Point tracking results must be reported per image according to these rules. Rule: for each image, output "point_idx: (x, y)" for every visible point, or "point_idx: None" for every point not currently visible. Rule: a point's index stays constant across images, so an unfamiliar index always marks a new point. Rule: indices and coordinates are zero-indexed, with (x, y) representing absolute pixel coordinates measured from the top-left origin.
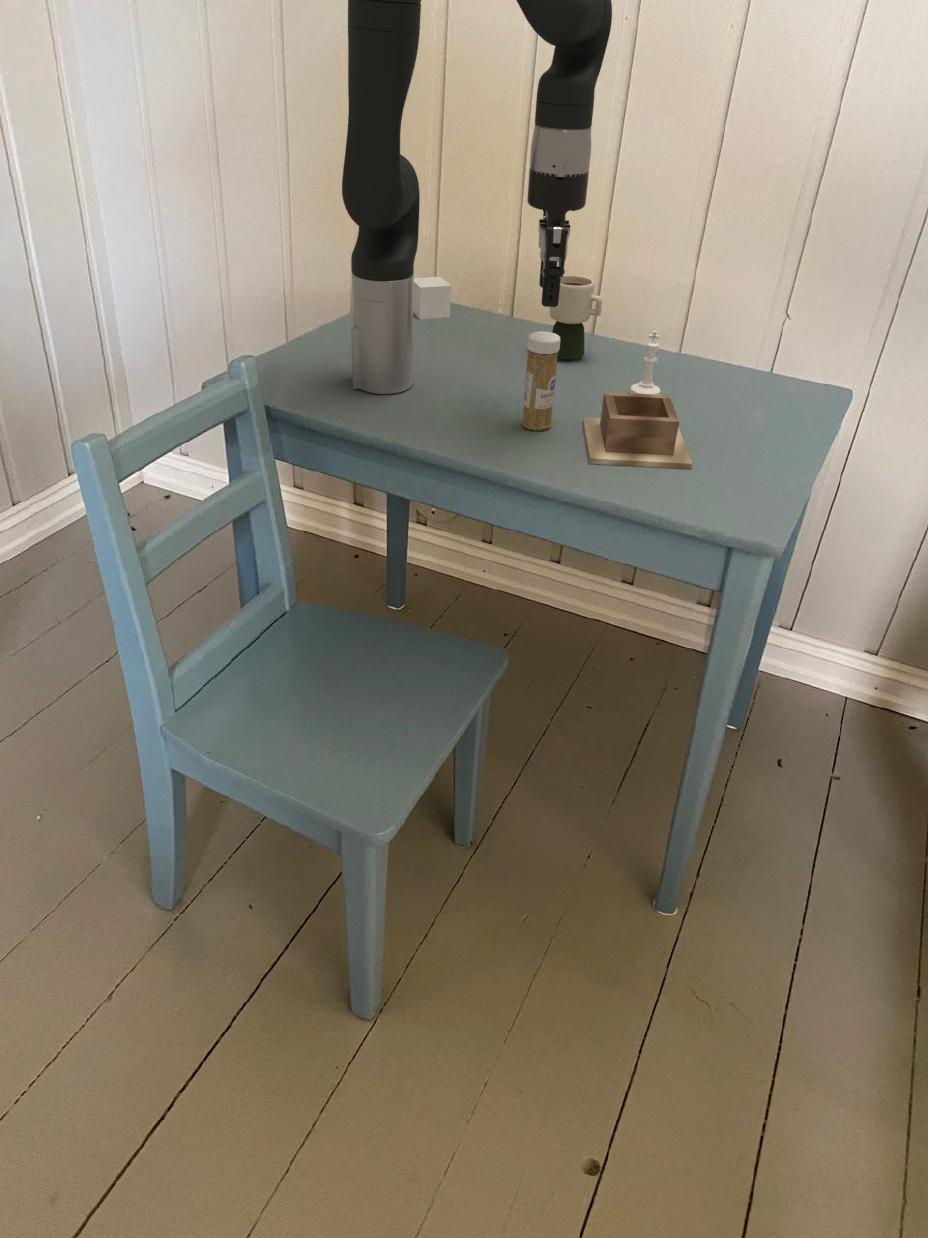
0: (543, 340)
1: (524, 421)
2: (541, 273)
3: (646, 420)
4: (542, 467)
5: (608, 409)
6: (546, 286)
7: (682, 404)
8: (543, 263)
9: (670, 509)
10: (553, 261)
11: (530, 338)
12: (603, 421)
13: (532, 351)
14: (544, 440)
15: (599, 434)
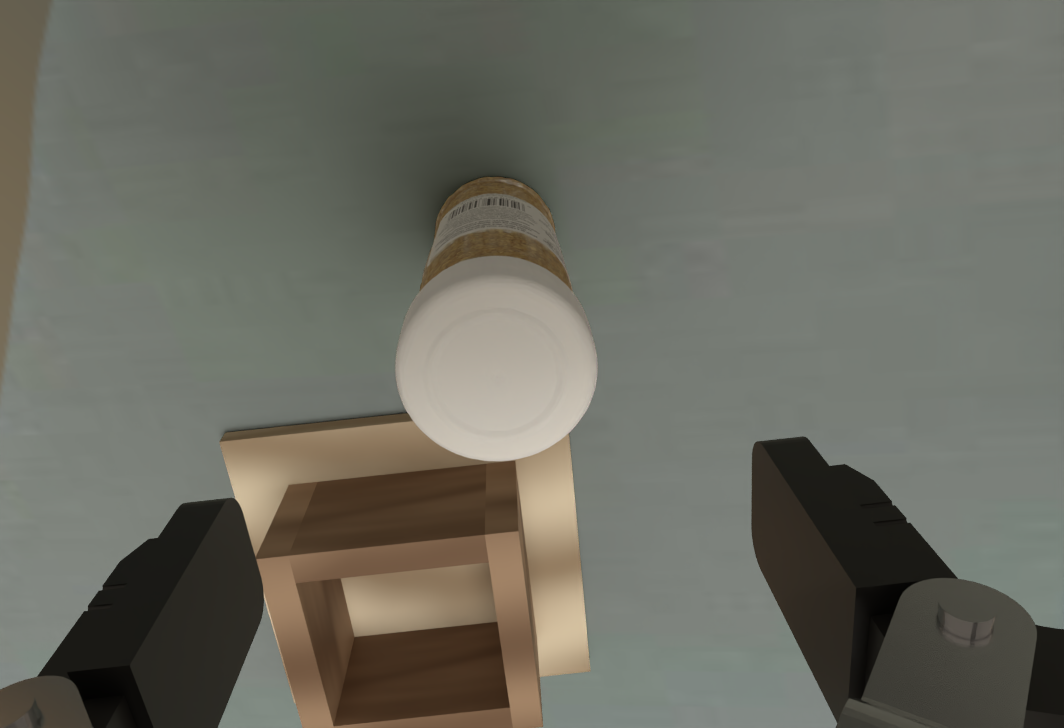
0: (405, 378)
1: (461, 193)
2: (796, 507)
3: (285, 664)
4: (134, 284)
5: (338, 551)
6: (59, 647)
7: (773, 676)
8: (836, 584)
9: (18, 641)
10: (841, 695)
11: (439, 295)
12: (430, 494)
13: (418, 293)
14: (366, 275)
15: (426, 462)
